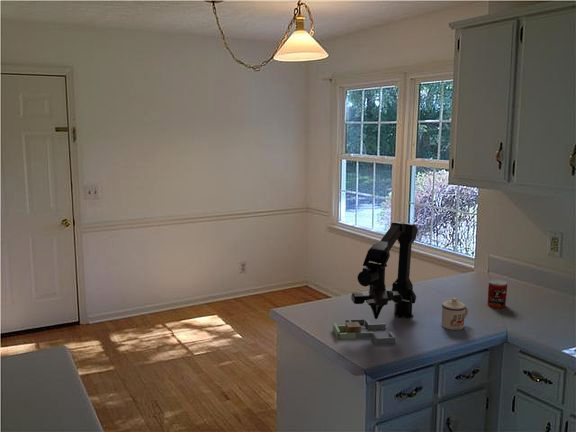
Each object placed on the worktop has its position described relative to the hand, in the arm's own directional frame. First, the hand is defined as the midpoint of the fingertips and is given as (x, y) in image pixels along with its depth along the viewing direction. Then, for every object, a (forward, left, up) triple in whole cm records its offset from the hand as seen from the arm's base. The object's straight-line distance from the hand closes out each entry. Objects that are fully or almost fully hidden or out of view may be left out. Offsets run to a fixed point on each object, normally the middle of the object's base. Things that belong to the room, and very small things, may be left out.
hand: (375, 318), depth 210 cm
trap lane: (+5, 0, -6) cm, 8 cm away
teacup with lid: (-34, -4, -6) cm, 35 cm away
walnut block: (+9, 0, -6) cm, 11 cm away
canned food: (-62, -25, -6) cm, 67 cm away
